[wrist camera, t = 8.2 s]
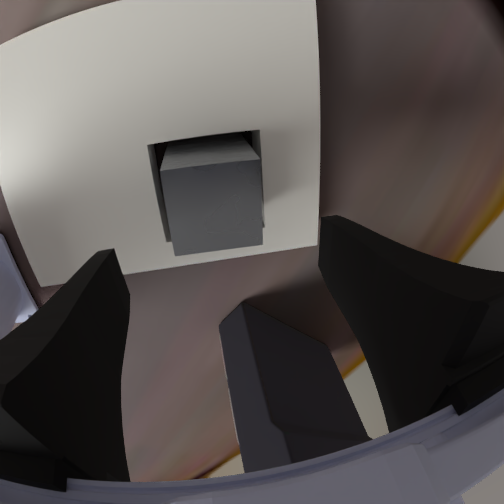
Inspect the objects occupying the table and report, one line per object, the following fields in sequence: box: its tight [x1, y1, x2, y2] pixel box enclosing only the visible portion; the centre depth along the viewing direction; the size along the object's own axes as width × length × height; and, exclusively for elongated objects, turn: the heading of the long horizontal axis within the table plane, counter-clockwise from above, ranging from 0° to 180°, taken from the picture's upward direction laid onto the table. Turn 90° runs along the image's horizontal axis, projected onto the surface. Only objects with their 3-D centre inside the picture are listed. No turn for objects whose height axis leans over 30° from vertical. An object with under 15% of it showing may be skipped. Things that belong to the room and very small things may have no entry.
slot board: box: [0, 0, 320, 287], centre depth 15 cm, size 18×15×2 cm
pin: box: [160, 132, 263, 256], centre depth 16 cm, size 4×4×6 cm
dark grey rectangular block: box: [219, 303, 373, 473], centre depth 21 cm, size 11×4×15 cm, turn 48°
